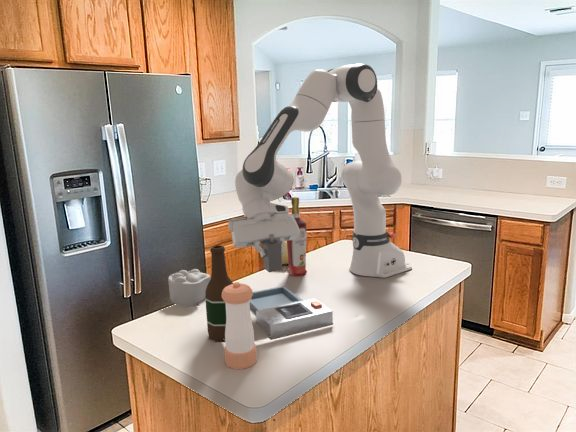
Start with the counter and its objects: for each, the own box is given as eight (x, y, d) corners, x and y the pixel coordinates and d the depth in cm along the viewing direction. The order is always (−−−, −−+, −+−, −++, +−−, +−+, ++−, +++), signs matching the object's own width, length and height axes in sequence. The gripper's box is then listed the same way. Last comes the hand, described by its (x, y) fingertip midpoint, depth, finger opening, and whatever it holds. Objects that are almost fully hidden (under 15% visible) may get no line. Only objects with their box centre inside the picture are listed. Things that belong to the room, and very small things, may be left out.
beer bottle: (205, 332, 121) (198, 244, 116) (234, 327, 124) (229, 241, 119) (211, 345, 114) (204, 252, 109) (241, 339, 117) (236, 248, 111)
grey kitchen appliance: (315, 311, 132) (314, 295, 131) (332, 324, 123) (332, 308, 122) (256, 324, 125) (255, 308, 124) (270, 340, 116) (270, 322, 115)
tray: (284, 293, 146) (284, 285, 146) (304, 308, 134) (303, 300, 133) (242, 301, 141) (242, 294, 140) (259, 318, 128) (258, 310, 128)
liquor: (300, 270, 167) (298, 194, 161) (311, 276, 161) (310, 197, 155) (283, 274, 163) (280, 197, 157) (294, 280, 157) (292, 200, 151)
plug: (276, 266, 136) (275, 232, 134) (282, 270, 132) (280, 235, 130) (264, 268, 134) (262, 234, 132) (269, 272, 131) (267, 237, 128)
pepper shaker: (248, 371, 102) (243, 289, 98) (219, 365, 104) (213, 286, 100) (261, 355, 108) (258, 278, 104) (234, 350, 111) (229, 275, 107)
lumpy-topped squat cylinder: (196, 308, 137) (194, 280, 135) (161, 301, 143) (159, 275, 141) (215, 295, 146) (213, 269, 145) (182, 290, 152) (180, 265, 150)
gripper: (228, 213, 132) (241, 254, 125) (292, 205, 140) (307, 244, 133) (224, 225, 137) (236, 265, 130) (287, 217, 145) (301, 255, 138)
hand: (273, 254), depth 132 cm, fingers closed on plug, 4 cm apart
